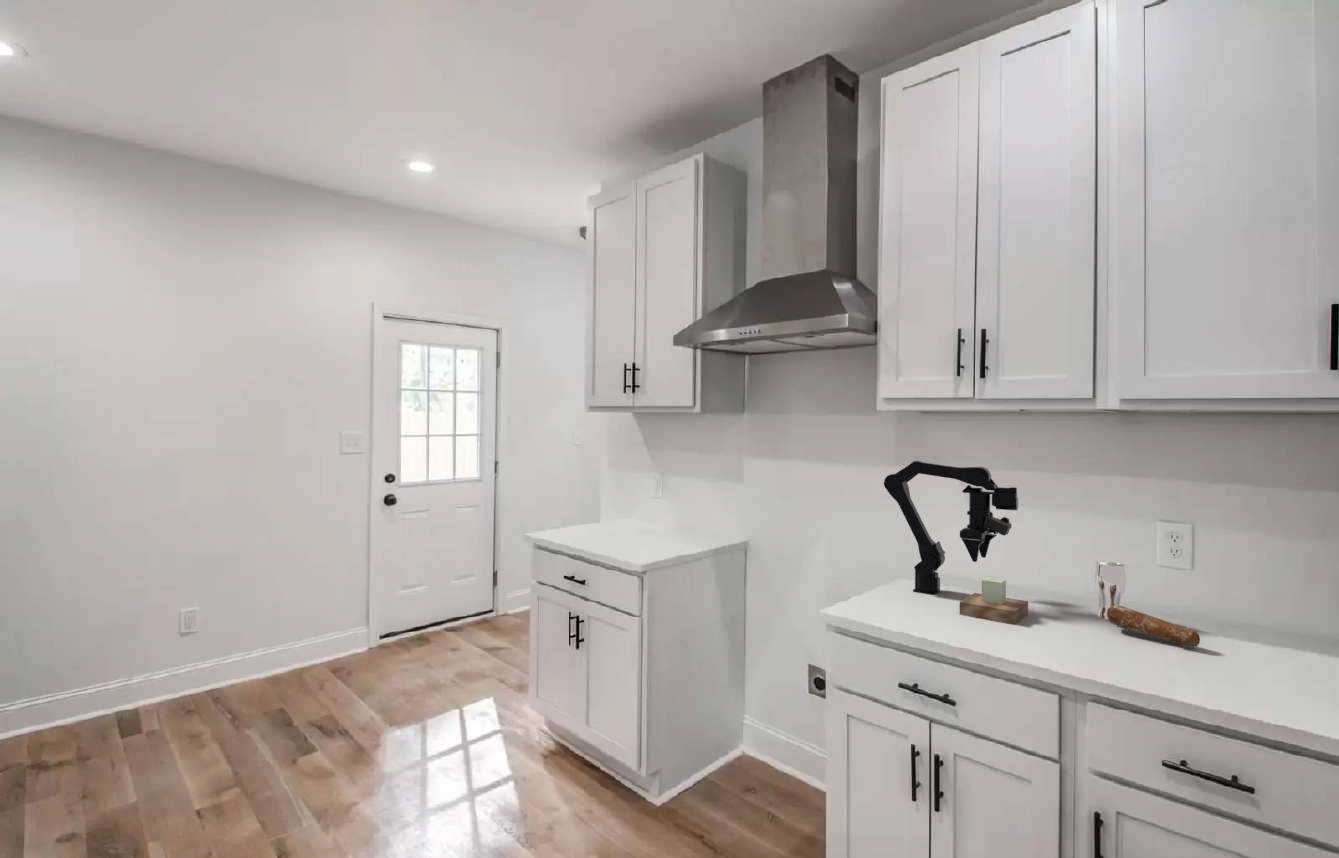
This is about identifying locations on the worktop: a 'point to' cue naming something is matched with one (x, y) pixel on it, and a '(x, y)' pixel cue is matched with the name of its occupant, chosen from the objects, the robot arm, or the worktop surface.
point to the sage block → (994, 590)
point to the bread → (1151, 626)
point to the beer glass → (1109, 585)
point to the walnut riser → (994, 609)
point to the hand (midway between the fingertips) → (979, 559)
